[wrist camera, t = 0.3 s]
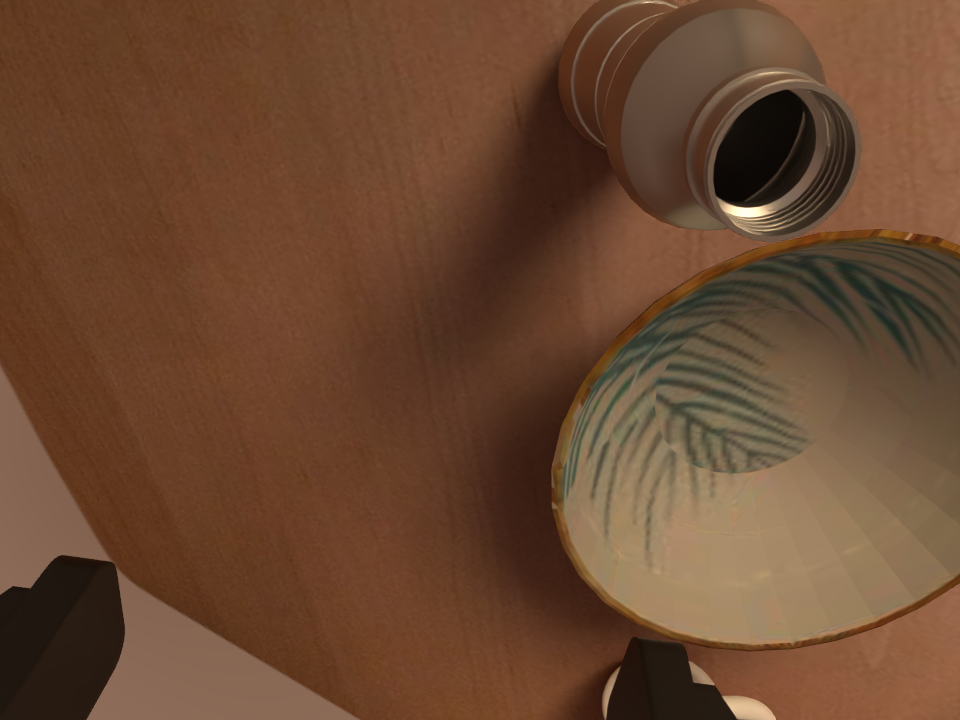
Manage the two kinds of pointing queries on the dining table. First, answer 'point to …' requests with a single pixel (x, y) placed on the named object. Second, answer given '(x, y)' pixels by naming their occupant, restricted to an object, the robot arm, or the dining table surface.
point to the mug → (742, 707)
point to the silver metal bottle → (711, 114)
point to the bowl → (775, 446)
